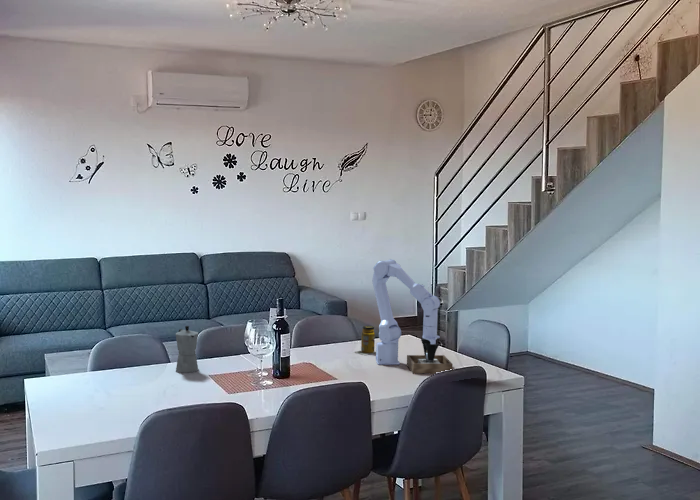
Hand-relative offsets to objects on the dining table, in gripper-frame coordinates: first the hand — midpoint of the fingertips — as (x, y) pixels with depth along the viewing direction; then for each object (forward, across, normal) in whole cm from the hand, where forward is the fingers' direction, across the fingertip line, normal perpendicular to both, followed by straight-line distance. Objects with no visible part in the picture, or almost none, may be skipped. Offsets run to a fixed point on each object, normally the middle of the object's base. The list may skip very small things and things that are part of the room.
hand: (429, 358), depth 292 cm
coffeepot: (+5, -1, +99) cm, 99 cm away
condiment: (+5, +31, +23) cm, 39 cm away
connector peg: (+4, 0, 0) cm, 4 cm away
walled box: (+5, 0, 0) cm, 5 cm away
